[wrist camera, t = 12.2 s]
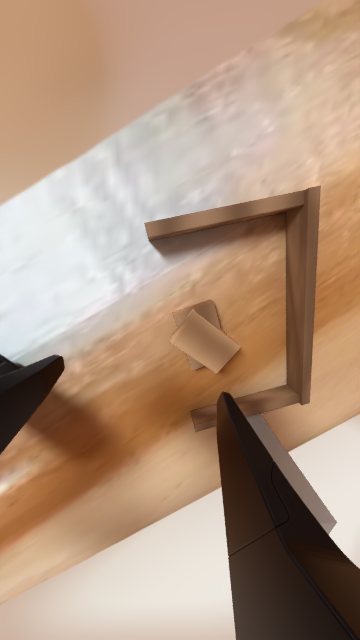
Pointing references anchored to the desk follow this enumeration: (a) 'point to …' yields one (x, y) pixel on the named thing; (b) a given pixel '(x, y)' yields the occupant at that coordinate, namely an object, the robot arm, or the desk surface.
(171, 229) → the wooden frame
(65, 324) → the desk surface
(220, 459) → the robot arm
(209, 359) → the offcut upper
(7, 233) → the desk surface
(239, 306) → the desk surface
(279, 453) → the tall board
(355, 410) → the desk surface
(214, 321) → the offcut lower
